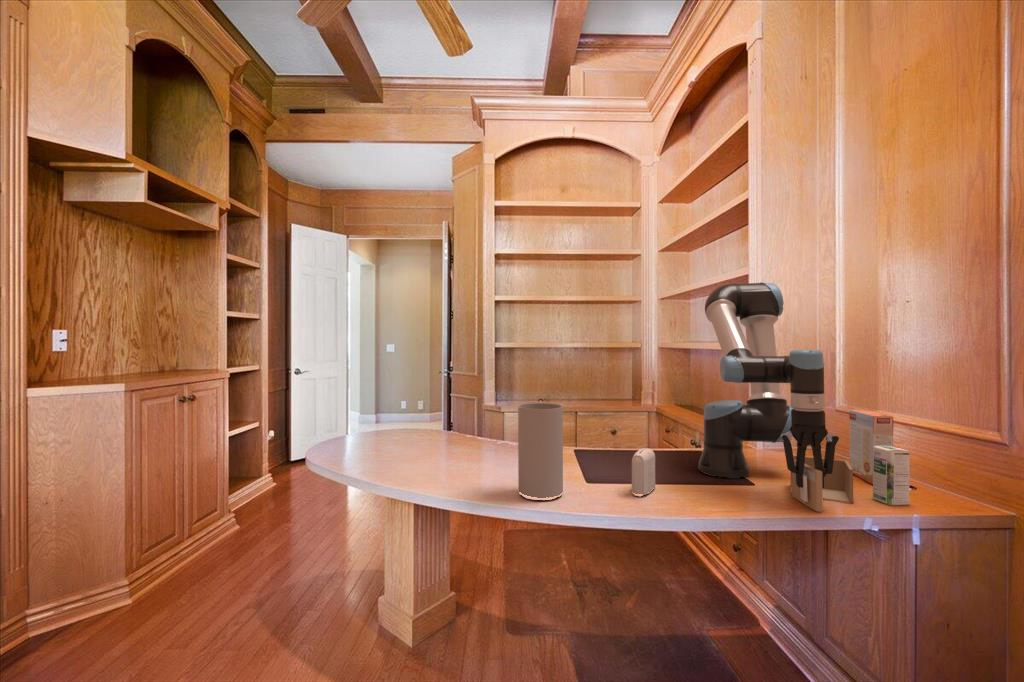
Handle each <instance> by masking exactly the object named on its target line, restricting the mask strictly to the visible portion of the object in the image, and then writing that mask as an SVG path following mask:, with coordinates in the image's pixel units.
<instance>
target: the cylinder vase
mask: <svg viewBox="0 0 1024 682" xmlns="http://www.w3.org/2000/svg"><path fill="white" fill-rule="evenodd" d="M517 409H518V410H517V411H518V413H517V416H518V418H517V420H518V422H517V424H518V426H517V428H518V429H517V430H518V433H517V434H518V435H517V437H518V440H517V441H518V442H517V446H518V447H517V448H518V449H517V452H518V453H517V454H518V457H517V459H518V463H517V464H518V480H517V481H518V483H517V484H518V489H517V490H519V492H521V493H522V494H524V495H527V496H531V497H537V498H546V497H548V498H549V497H554V496H558V495H560V494H561V493H562V492H563V493H564V476H563V475H564V439H563V438H564V437H563V436H564V430H563V429H564V428H563V427H564V417H563V414H564V407H563V405H562V404H558V403H557V404H556V403H548V402H546V403H545V402H544V403H543V402H537V403H536V402H534V403H533V402H532V403H522V404H519V405H518V406H517ZM519 492H518V493H519Z"/></svg>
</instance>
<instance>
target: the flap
mask: <svg viewBox="0 0 1024 682" xmlns="http://www.w3.org/2000/svg"><path fill="white" fill-rule="evenodd" d="M794 463H795V466H796V460H794ZM804 475H806V476H807V497H808V502H805V501H803V500H802V499H801V495H800V487H798V486H797V485H796V474H795V473H792V492H791V496H792V497H793V498H794V499H796V500H798V501H800V502H801V503H802V504H804V505H805V506H807V507H809V508H810V509H811V510H813V511H815V512H818V513H819V512H820V513H823V500H822V471H820V470H817V469H815V468H813V467H811V466H809V465H807V464H804Z"/></svg>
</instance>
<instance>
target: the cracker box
mask: <svg viewBox="0 0 1024 682" xmlns="http://www.w3.org/2000/svg"><path fill="white" fill-rule="evenodd" d="M894 419H895V417H894V416H893V415H888V414H885V413H881V412H876V411H874V410H869V409H849V464H850V465H851V467H852V469H853V474H854V475H853V476H855V477H856V478H859V479H861V480H862V481H865V482H867V483H869V484H870V483H871V485H872V484H873V447H874V446H892V447H894Z"/></svg>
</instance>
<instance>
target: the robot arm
mask: <svg viewBox="0 0 1024 682" xmlns="http://www.w3.org/2000/svg"><path fill="white" fill-rule="evenodd" d="M784 305H785V304H784V297H783V293H782V291H781V289H780V287H779V286H778V285H777V284H775V283H773V282H753V283H752V282H751V283H750V282H749V283H743V282H742V283H726V284H722V285H721V286H718V287H717V288H715V289H714V290H713V291H712V292H711V293H710V294H709V295H708V296H707V299H706V301H705V303H704V313H705V317H706V319H707V320H708V321H709V322H710V323H711V324H712V327H713V330H714V332H715V336H716V338H717V341H718V344H719V346H720V350H721V352H722V355H723V356H722V357H721V358H720V361H719V372H720V378H721V379H722V381H723V382H727V383H735V384H736V383H737V384H740V383H743V384H744V383H745V384H746V383H749V385H750V386H749V387H750V396H749V397H748V398H747V399H746V404H744V403H743V402H742V401H741V400H737V399H734V400H733V399H729V400H727V399H726V400H717V401H711V402H708V403H706V404H705V406H704V409H703V416H702V418H703V448H702V449H703V450H702V452H701V455H700V458H699V461H698V465H697V466H698V467H697V469H699V470H700V471H703V472H705V473H708V474H711V475H716V476H721V477H733V478H732V479H741V478H740V477H744V478H747V477H749V473H750V471H749V469H750V468H749V466H748V461H747V459H746V456H745V453H744V450H743V445H744V444H743V443H744V442H761V443H762V442H763V443H772V444H773V443H774V444H775V443H783V449H784V456H785V460H786V468H787V470H788V471H789V472H790V473H791V472H792V473H795V474H796V485H797V486H798V487H800V495H801V499H802V500H803V501H805V502H808V497H807V476H806V475H804V464H805V457H806V455H807V454H806V453H807V452H806V451H807V449H808V446H810V448H811V450H812V457H813V458H814V464H815V469H817V470H820V471H822V488H824V477H825V476H826V474H832V472H833V463H834V459H835V455H836V454H835V453H836V445H837V443H838V442H839V439H840V438H839V436H838V435H835V434H832V433H829V431H828V429H827V427H826V411H825V410H824V409H825V408H826V406H825V405H826V404H825V403H826V402H825V401H826V400H825V399H826V398H825V397H826V396H825V362H824V354H823V351H821V350H819V349H793V350H790V351H789V355H781V356H780V355H779V356H778V355H777V347H776V337H775V327H774V325H775V323H777V322H778V321H779V317H780V316H781V315H782V314H783V311H784ZM738 318H739V319H738ZM740 324H741V325H742V326H744V329H745V334H744V332H743V329H742V327H741V325H740ZM780 384H790V405H788V402H787V399H786V397H784V396H783V395H782V394H781V387H780V386H781V385H780ZM792 438H794V440H795V441H796V455H795V456H796V466H795V463H794V457H793V455H794V452H793V446H792V443H791V441H792ZM824 439H825V449H824V450H825V451H824V457H823V454H822V446H821V445H822V444H821V443H822V442H823V441H824ZM822 458H824V467H823V461H822ZM699 470H698V471H699ZM700 471H699V472H700ZM721 477H720V478H721Z"/></svg>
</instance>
